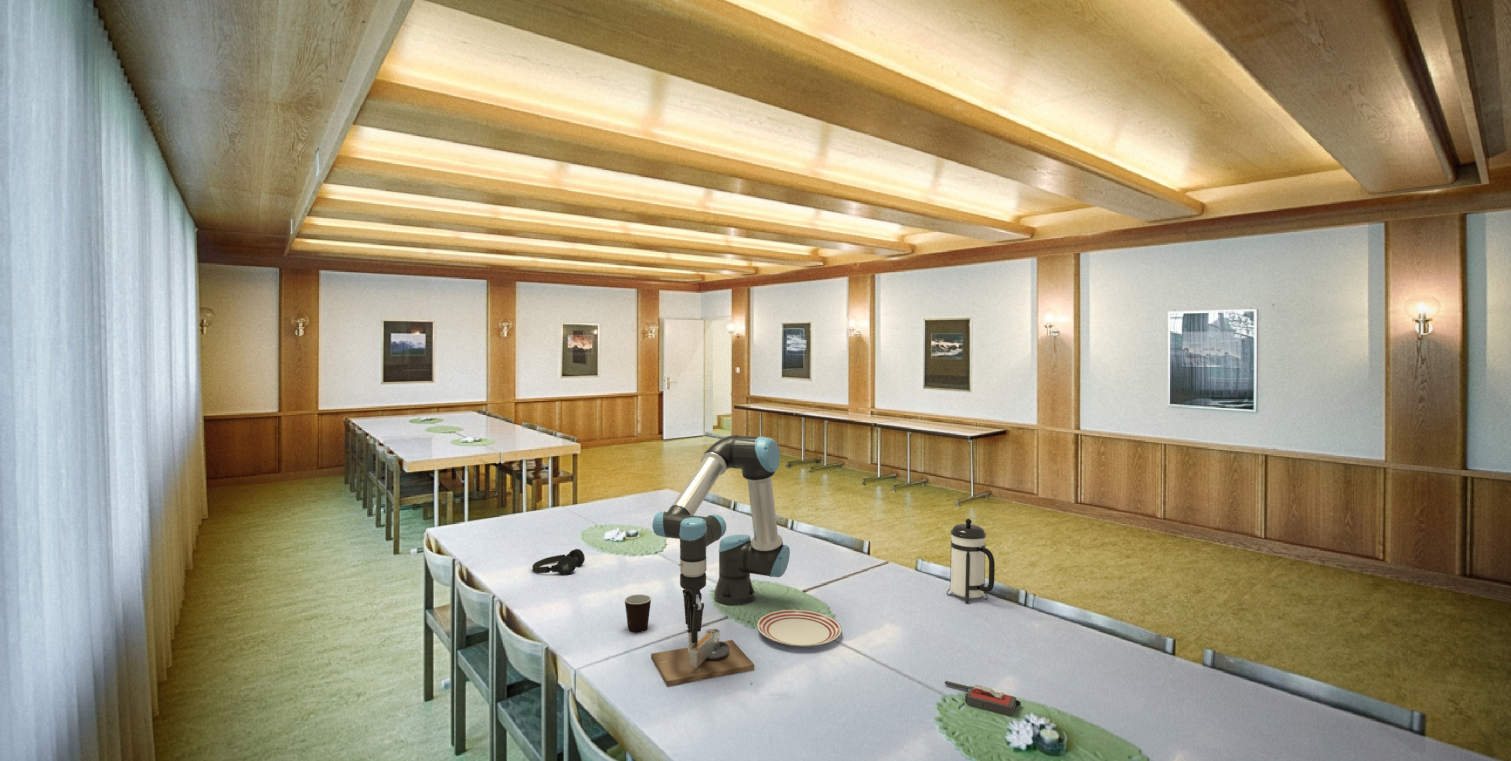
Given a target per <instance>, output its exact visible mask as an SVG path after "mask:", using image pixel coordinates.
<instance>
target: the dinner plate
mask: <svg viewBox="0 0 1511 761" xmlns="http://www.w3.org/2000/svg"><path fill="white" fill-rule="evenodd" d="M756 628H757V629H758V631H759V632H760V634H762V635H763V636H764V637H765V638H767V639H768V640H771V641H773V642H776V643H779V644H781V645H786V646H790V647H796V648H798V647H800V648H804V647H815V646H820V645H824V644H827V643H831V642H833V641H835V640H837V639H838V638H839V637H840V635H841V633H842V627H841V626H840V623H838V622H837V621H836V620H835V619H834V618H832V617H830V616H829V615H826V614H823V613H819V612H817V611H811V610H810V611H809V610H803V609H782V610H777V611H772V612H769V613H767V614H765V615H763V616H762V617H760V619H759V620H758V621H757V624H756Z"/></svg>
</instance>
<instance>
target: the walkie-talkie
mask: <svg viewBox="0 0 1511 761" xmlns="http://www.w3.org/2000/svg"><path fill="white" fill-rule="evenodd" d="M944 684H945V685H946V686H949V687H953V688H957V689H962V690H966V691H968V693H967V692H965V693H964V694H965V695H964V701H965V703H966V705H967V706H969V707H972V708H976V709H980V710H984V711H987V712H991V713H996V714H999V715H1003V716H1007V717H1013V716H1014V714H1015V711H1016V707H1019V706H1021V705H1022V702H1021V701H1020V700H1017V697H1015V696H1014V695H1009V694H1005V693H1004V692H1003V691H1001V692H996V691H995V690H994V689H993V688H992V687H987V686H983V685H977V684H974V686H970V685H969V686H968V685H965V684H961V683H956V682H952V681H949V680H945V681H944Z"/></svg>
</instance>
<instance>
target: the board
mask: <svg viewBox="0 0 1511 761" xmlns="http://www.w3.org/2000/svg"><path fill="white" fill-rule="evenodd" d="M721 642H724V643H726V644H727V645H728V646H729V655H728V656H727V657H726V658H724V659H721V660H715V661H708V660H704V661H703V662H702V663H701V664H700V665H699V666H698V667H697V668H696V667H691V666H689V652H688V646H687V647H683V648H677V649H672V650H665V651H660V652H654V653H651V654H650V657H651V658H650V659H651V660H652V662H653V665H655V667H656V670H657V671H658V673H659V675H660V677H661V678H662V680H663V681H664V684H665V685H666V687H672V686H677V685H682V684H688V683H693V682H697V681H703V680H709V679H713V678H718V677H724V676H725V677H726V676H730V675H734V674H739V673H744V672H750V671H754V670H755V663H754V662H753V661H752V660H751V659H750V658H749V657H748V656H747V654H746V653H745V652H744V651H743V650H742V649H741V648H740V647H739V645H738V644H737V643H736V642H735V641H734V640H733V639H729V640H723V641H721Z"/></svg>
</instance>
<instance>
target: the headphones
mask: <svg viewBox="0 0 1511 761" xmlns="http://www.w3.org/2000/svg"><path fill="white" fill-rule="evenodd" d="M585 559H586V557H585V554H584V552H583V551H582V549H579V548H575V549H572V550H570V551H569V552H568V553H566V554H558V555H554V556H548V557H545V558H542V559H540V560H538V561H536V562H534V563H533V564H532V572H533V573H534V574H549V573H550V572H552V573H559V574H561V576H562V575H563V576H568V575H570V574H572V573H573V572H574V571H575V570H576V569H577V568H579V567H580V566H582V565H583V564H584V563H585ZM552 563H556V564H552ZM549 564H552V565H551V566H549ZM545 565H547V566H545Z"/></svg>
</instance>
